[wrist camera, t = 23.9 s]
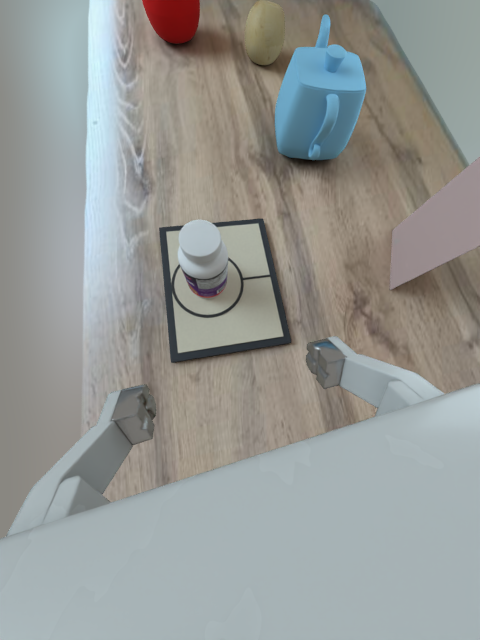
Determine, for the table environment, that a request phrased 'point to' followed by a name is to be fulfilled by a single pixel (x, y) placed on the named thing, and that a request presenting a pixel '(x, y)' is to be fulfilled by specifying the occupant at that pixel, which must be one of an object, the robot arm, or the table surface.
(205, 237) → the pill bottle
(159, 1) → the tomato
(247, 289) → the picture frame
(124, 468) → the table surface
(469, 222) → the greeting card
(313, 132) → the teapot
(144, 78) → the table surface
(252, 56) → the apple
